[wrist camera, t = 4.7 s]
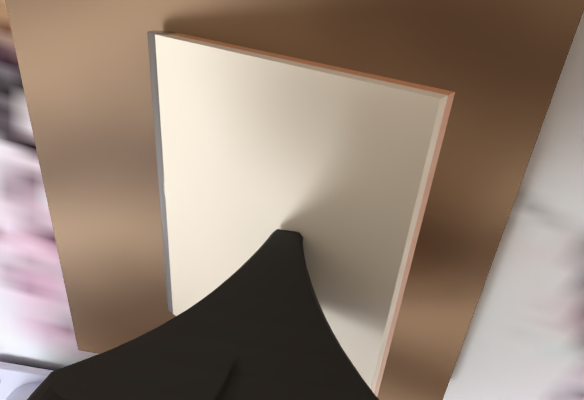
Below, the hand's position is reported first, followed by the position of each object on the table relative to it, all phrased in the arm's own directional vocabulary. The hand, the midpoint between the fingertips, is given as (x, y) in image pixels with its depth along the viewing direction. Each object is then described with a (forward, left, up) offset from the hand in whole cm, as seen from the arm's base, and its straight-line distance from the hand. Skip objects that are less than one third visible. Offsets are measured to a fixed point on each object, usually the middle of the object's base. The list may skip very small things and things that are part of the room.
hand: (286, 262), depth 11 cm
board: (0, +1, -5) cm, 5 cm away
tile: (0, +1, -1) cm, 1 cm away
